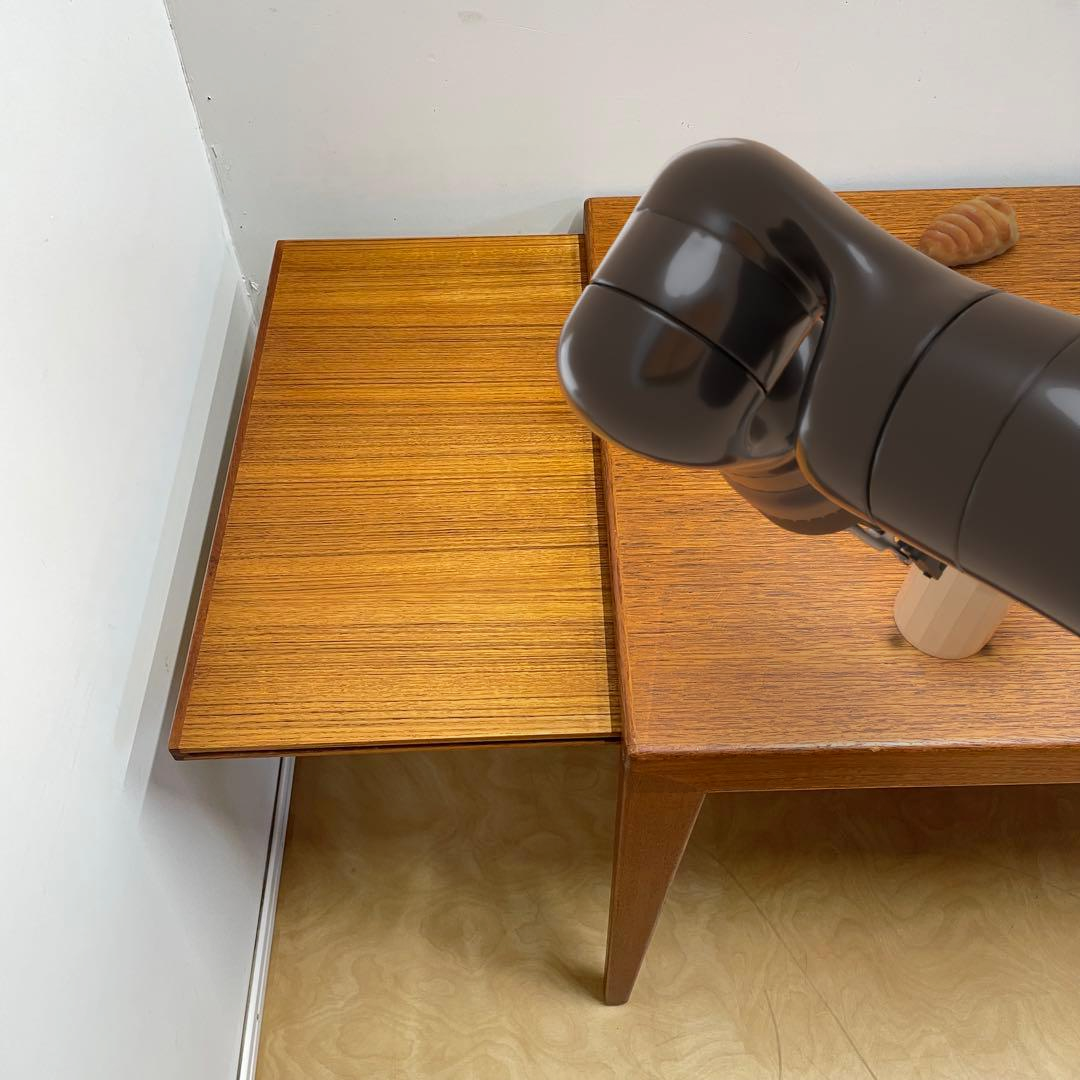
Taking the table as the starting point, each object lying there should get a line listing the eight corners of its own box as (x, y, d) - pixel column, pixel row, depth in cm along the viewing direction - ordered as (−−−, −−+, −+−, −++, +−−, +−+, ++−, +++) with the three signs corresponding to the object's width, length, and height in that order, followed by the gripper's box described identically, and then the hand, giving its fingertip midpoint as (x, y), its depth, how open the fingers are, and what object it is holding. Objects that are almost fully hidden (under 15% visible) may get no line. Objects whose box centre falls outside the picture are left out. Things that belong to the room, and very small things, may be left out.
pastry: (948, 284, 92) (961, 250, 89) (897, 245, 96) (907, 212, 93) (1020, 248, 95) (1035, 214, 92) (967, 212, 98) (980, 178, 95)
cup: (985, 584, 73) (1037, 501, 65) (994, 665, 69) (1050, 588, 61) (891, 573, 74) (930, 490, 66) (894, 652, 70) (937, 574, 62)
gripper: (643, 434, 51) (728, 502, 65) (882, 590, 44) (919, 628, 59) (728, 310, 50) (795, 406, 64) (984, 451, 43) (996, 523, 58)
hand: (854, 512), depth 61 cm, fingers open, 8 cm apart
